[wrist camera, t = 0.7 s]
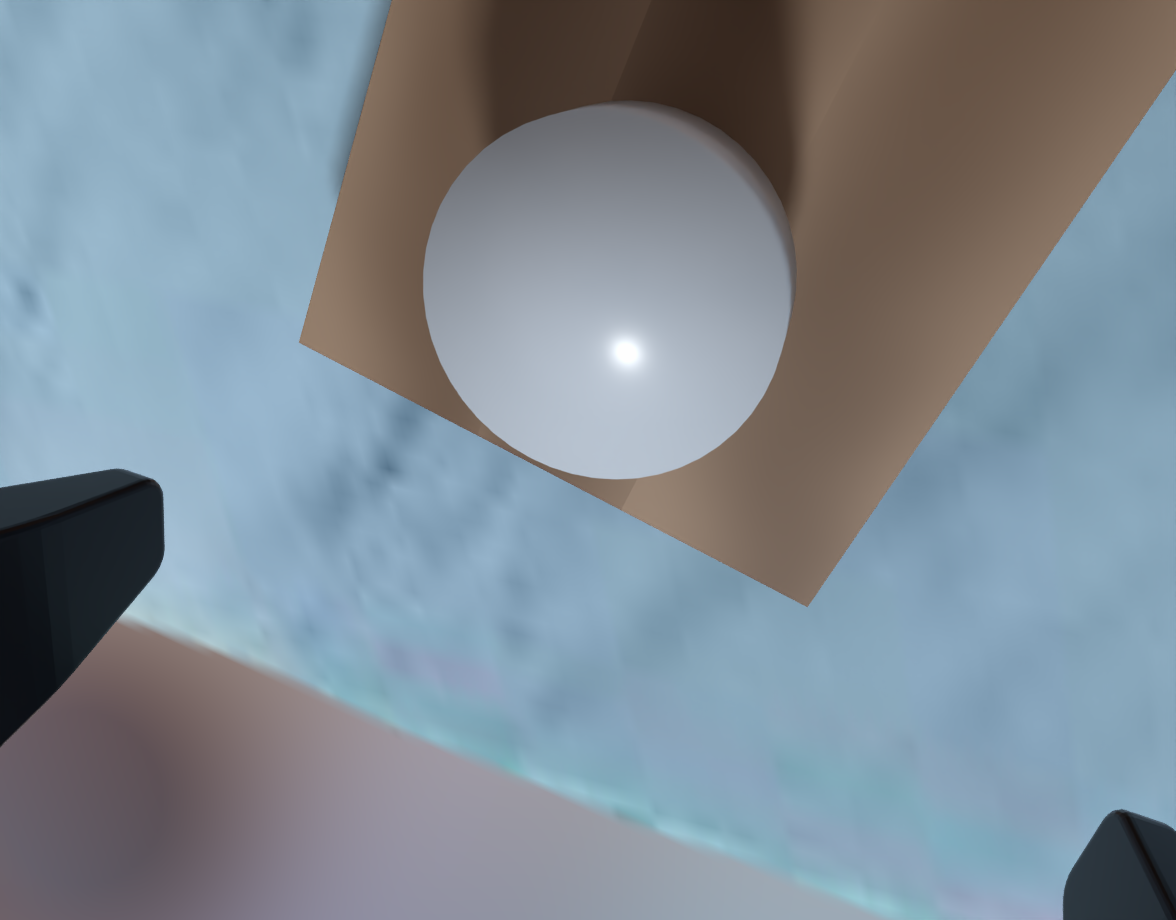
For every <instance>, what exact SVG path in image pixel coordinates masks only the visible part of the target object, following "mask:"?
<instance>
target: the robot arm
mask: <svg viewBox="0 0 1176 920" xmlns="http://www.w3.org/2000/svg"><path fill="white" fill-rule="evenodd" d="M164 549H165V544H164V507H163V491H162V489H161V487H160V485H159V484H158V483H157V482H156V481H155V480H153V479H151V478H148V477H145V476H142V475H140V474H137V473H134V472H131V471H128V470H124V469H110V470H104V471H98V472H92V473H86V474H80V475H74V476H68V477H62V478H56V479H50V480H44V481H38V482H32V483H26V484H20V485H14V486H8V487H2V488H0V747H1V746H2V745H3V744H4V743H5V742H6V741H7V740H8V739H9V738H10V737H11V736H12V735H13V734H14V733H15V732H16V731H17V730H18V729H20V728H21V727H22V726H23V725H24V724H25V723H26V722H27V721H28V720H29V719H30V718H31V717H32V716H33V715H34V714H35V713H36V712H37V711H38V710H39V709H40V708H41V707H42V706H43V705H44V704H45V703H46V701H48V700H49V698H51V696H52V695H53V694H54V693H55V692H56V691H57V690H58V689H59V688H60V687H61V686H62V684H63V683H64V682H65V681H66V680H67V679H68V678H69V677H70V676H71V674H72V673H73V672H74V671H75V670H76V669H77V668H78V666H79V665H80V664H81V663H82V661H83V660H84V659H85V658H86V657H87V656H88V654H89V653H90V652H91V651H92V650H93V648H94V647H95V646H96V645H97V643H98V642H99V641H100V640H101V639H102V638H103V636H104V635H105V634H106V633H107V632H108V631H109V629H110V628H111V627H112V626H113V625H114V623H115V622H116V621H117V620H118V619H119V617H120V616H121V615H122V614H123V613H124V611H125V610H126V609H127V608H128V607H129V605H130V604H131V603H132V602H133V601H134V599H135V598H136V597H137V596H138V595H139V593H140V592H141V591H142V590H143V589H144V588H145V586H146V585H147V584H148V583H149V582H150V580H151V579H152V578H153V577H154V575H155V574H156V572H157V571H158V569H159V567H160V565H161V562H162V560H163V556H164ZM1063 920H1176V831H1175V830H1174V829H1173V828H1171V827H1170V826H1168V825H1167V824H1165V823H1162V822H1159V821H1156V820H1153V819H1150V818H1148V817H1145V816H1142V815H1139V814H1136V813H1133V812H1130V811H1127V810H1123V809H1121V810H1115V811H1112V812H1111V813H1109V814H1108V815H1107V816H1106V817H1105V818H1104V820H1103V821H1102V823H1101V824H1100V826H1099V827H1098V829H1097V830H1096V832H1095V834H1094V835H1093V837H1092V838H1091V840H1090V841H1089V843H1088V845H1087V846H1086V848H1085V849H1084V851H1083V852H1082V854H1081V856H1080V857H1079V859H1078V860H1077V862H1076V863H1075V865H1074V867H1073V868H1072V870H1071V872H1070V874H1069V876H1068V879H1067V881H1066V885H1065V889H1064V896H1063Z"/></svg>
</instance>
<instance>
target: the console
mask: <svg viewBox="0 0 1176 920" xmlns="http://www.w3.org/2000/svg"><path fill="white" fill-rule="evenodd" d="M1175 70H1176V0H392V2H391V6H390V9H389V13H388V17H387V20H386V24H385V28H384V31H383V35H382V39H381V42H380V46H379V50H378V53H377V57H376V61H375V64H374V68H373V72H372V75H371V79H370V83H369V87H368V90H367V94H366V98H365V101H364V105H363V109H362V112H361V116H360V120H359V123H358V127H357V131H356V134H355V138H354V142H353V145H352V149H351V153H350V156H349V160H348V164H347V168H346V171H345V175H344V179H343V182H342V186H341V190H340V193H339V197H338V201H337V204H336V208H335V212H334V215H333V219H332V223H331V226H330V230H329V234H328V237H327V241H326V245H325V249H324V252H323V256H322V260H321V263H320V267H319V271H318V274H317V278H316V282H315V285H314V289H313V293H312V296H311V300H310V304H309V307H308V311H307V315H306V318H305V322H304V326H303V330H302V333H301V337H300V341H299V343H301V344H303V345H305V346H307V347H309V348H310V349H312V350H314V351H316V352H318V353H320V354H322V355H324V356H326V357H328V358H330V359H332V360H334V361H335V362H337V363H339V364H341V365H343V366H345V367H347V368H349V369H351V370H353V371H355V372H357V373H359V374H360V375H362V376H364V377H366V378H368V379H370V380H372V381H374V382H376V383H378V384H380V385H382V386H384V387H385V388H387V389H389V390H391V391H393V392H395V393H397V394H399V395H401V396H403V397H405V398H407V399H408V400H410V401H412V402H414V403H416V404H418V405H420V406H422V407H424V408H426V409H428V410H430V411H432V412H433V413H435V414H437V415H439V416H441V417H443V418H445V419H447V420H449V421H451V422H453V423H455V424H457V425H458V426H460V427H462V428H464V429H466V430H468V431H470V432H472V433H474V434H476V435H478V436H480V437H482V438H483V439H485V440H487V441H489V442H491V443H493V444H495V445H497V446H499V447H501V448H503V449H505V450H507V451H508V452H510V453H512V454H514V455H516V456H518V457H520V458H522V459H524V460H526V461H528V462H530V463H531V464H533V465H535V466H537V467H539V468H541V469H543V470H545V471H547V472H549V473H551V474H553V475H555V476H556V477H558V478H560V479H562V480H564V481H566V482H568V483H570V484H572V485H574V486H576V487H578V488H580V489H581V490H583V491H585V492H587V493H589V494H591V495H593V496H595V497H597V498H599V499H601V500H603V501H605V502H606V503H608V504H610V505H612V506H614V507H616V508H618V509H620V510H622V511H624V512H626V513H628V514H630V515H631V516H633V517H635V518H637V519H639V520H641V521H643V522H645V523H647V524H649V525H651V526H653V527H654V528H656V529H658V530H660V531H662V532H664V533H666V534H668V535H670V536H672V537H674V538H676V539H678V540H679V541H681V542H683V543H685V544H687V545H689V546H691V547H693V548H695V549H697V550H699V551H701V552H703V553H704V554H706V555H708V556H710V557H712V558H714V559H716V560H718V561H720V562H722V563H724V564H726V565H728V566H729V567H731V568H733V569H735V570H737V571H739V572H741V573H743V574H745V575H747V576H749V577H751V578H753V579H754V580H756V581H758V582H760V583H762V584H764V585H766V586H768V587H770V588H772V589H774V590H776V591H777V592H779V593H781V594H783V595H785V596H787V597H789V598H791V599H793V600H795V601H797V602H799V603H801V604H802V605H804V606H806V607H808V606H809V604H810V603H811V601H812V600H813V598H814V597H815V595H816V594H817V592H818V591H819V589H820V588H821V587H822V585H823V584H824V582H825V581H826V579H827V578H828V576H829V575H830V573H831V572H832V571H833V569H834V568H835V566H836V565H837V563H838V562H839V560H840V559H841V557H842V556H843V554H844V553H845V552H846V550H847V549H848V547H849V546H850V544H851V543H852V541H853V540H854V538H855V537H856V536H857V534H858V533H859V531H860V530H861V528H862V527H863V525H864V524H865V522H866V521H867V519H868V518H869V517H870V515H871V514H872V512H873V511H874V509H875V508H876V506H877V505H878V503H879V502H880V501H881V499H882V498H883V496H884V495H885V493H886V492H887V490H888V489H889V487H890V486H891V484H892V483H893V482H894V480H895V479H896V477H897V476H898V474H899V473H900V471H901V470H902V468H903V467H904V466H905V464H906V463H907V461H908V460H909V458H910V457H911V455H912V454H913V452H914V451H915V449H916V448H917V447H918V445H919V444H920V442H921V441H922V439H923V438H924V436H925V435H926V433H927V432H928V431H929V429H930V428H931V426H932V425H933V423H934V422H935V420H936V419H937V417H938V416H939V415H940V413H941V412H942V410H943V409H944V407H945V406H946V404H947V403H948V401H949V400H950V398H951V397H952V396H953V394H954V393H955V391H956V390H957V388H958V387H959V385H960V384H961V382H962V381H963V380H964V378H965V377H966V375H967V374H968V372H969V371H970V369H971V368H972V366H973V365H974V363H975V362H976V361H977V359H978V358H979V356H980V355H981V353H982V352H983V350H984V349H985V347H986V346H987V345H988V343H989V342H990V340H991V339H992V337H993V336H994V334H995V333H996V331H997V330H998V328H999V327H1000V326H1001V324H1002V323H1003V321H1004V320H1005V318H1006V317H1007V315H1008V314H1009V312H1010V311H1011V310H1012V308H1013V307H1014V305H1015V304H1016V302H1017V301H1018V299H1019V298H1020V296H1021V295H1022V293H1023V292H1024V291H1025V289H1026V288H1027V286H1028V285H1029V283H1030V282H1031V280H1032V279H1033V277H1034V276H1035V275H1036V273H1037V272H1038V270H1039V269H1040V267H1041V266H1042V264H1043V263H1044V261H1045V260H1046V259H1047V257H1048V256H1049V254H1050V253H1051V251H1052V250H1053V248H1054V247H1055V245H1056V244H1057V242H1058V241H1059V240H1060V238H1061V237H1062V235H1063V234H1064V232H1065V231H1066V229H1067V228H1068V226H1069V225H1070V224H1071V222H1072V221H1073V219H1074V218H1075V216H1076V215H1077V213H1078V212H1079V210H1080V209H1081V207H1082V206H1083V205H1084V203H1085V202H1086V200H1087V199H1088V197H1089V196H1090V194H1091V193H1092V191H1093V190H1094V189H1095V187H1096V186H1097V184H1098V183H1099V181H1100V180H1101V178H1102V177H1103V175H1104V174H1105V172H1106V171H1107V170H1108V168H1109V167H1110V165H1111V164H1112V162H1113V161H1114V159H1115V158H1116V156H1117V155H1118V154H1119V152H1120V151H1121V149H1122V148H1123V146H1124V145H1125V143H1126V142H1127V140H1128V139H1129V137H1130V136H1131V135H1132V133H1133V132H1134V130H1135V129H1136V127H1137V126H1138V124H1139V123H1140V121H1141V120H1142V119H1143V117H1144V116H1145V114H1146V113H1147V111H1148V110H1149V108H1150V107H1151V105H1152V104H1153V102H1154V101H1155V100H1156V98H1157V97H1158V95H1159V94H1160V92H1161V91H1162V89H1163V88H1164V86H1165V85H1166V84H1167V82H1168V81H1169V79H1170V78H1171V76H1172V75H1173V73H1174V72H1175ZM629 100H633V101H643V102H653V103H658V104H662V105H666V106H670V107H674V108H678V109H680V110H683V111H685V112H688V113H690V114H693V115H695V116H697V117H700V118H701V119H703V120H705V121H707V122H708V123H710V124H712V125H714V126H715V127H717V128H719V129H720V130H722V131H723V132H724V133H725V134H727V135H728V136H729V137H731V138H732V139H733V140H734V141H736V142H737V143H738V144H739V145H740V146H741V147H742V148H743V149H744V150H745V151H746V152H747V153H748V154H749V155H750V156H751V157H752V158H753V159H754V160H755V161H756V163H757V164H758V165H759V167H760V168H761V169H762V171H763V172H764V173H765V175H766V176H767V178H768V179H769V180H770V182H771V184H772V186H773V188H774V189H775V191H776V193H777V195H778V197H779V199H780V200H781V203H782V205H783V208H784V210H785V213H786V216H787V218H788V221H789V224H790V228H791V232H792V236H793V241H794V245H795V254H796V264H797V280H796V295H795V300H794V306H793V312H792V316H791V320H790V323H789V327H788V330H787V334H786V337H785V341H784V345H783V348H782V352H781V355H780V358H779V361H778V364H777V367H776V370H775V373H774V376H773V378H772V380H771V382H770V384H769V386H768V388H767V390H766V392H765V394H764V396H763V397H762V399H761V400H760V402H759V403H758V405H757V406H756V408H755V409H754V411H753V412H752V414H751V415H750V416H749V417H748V419H747V420H746V421H745V422H744V423H743V424H742V425H741V426H740V428H739V429H738V430H737V431H736V432H735V433H734V434H733V435H731V436H730V437H729V438H728V439H727V440H726V441H724V442H723V443H722V444H721V445H720V446H718V447H717V448H715V449H714V450H712V451H711V452H709V453H708V454H706V455H704V456H703V457H701V458H700V459H698V460H695V461H693V462H691V463H689V464H687V465H685V466H683V467H680V468H678V469H674V470H671V471H668V472H665V473H662V474H658V475H653V476H647V477H642V478H634V479H601V478H591V477H586V476H581V475H575V474H571V473H568V472H565V471H561V470H558V469H555V468H552V467H549V466H547V465H545V464H543V463H541V462H538V461H536V460H534V459H532V458H530V457H528V456H526V455H525V454H523V453H521V452H520V451H518V450H516V449H515V448H513V447H511V446H510V445H509V444H507V443H506V442H505V441H503V440H502V439H501V438H499V437H498V436H497V435H495V434H494V433H493V432H492V431H491V430H490V429H489V428H488V427H487V426H486V425H485V424H483V423H482V422H481V421H480V420H479V419H478V418H477V417H476V416H475V414H474V413H473V412H472V411H471V410H470V408H469V407H468V406H467V405H466V404H465V402H464V401H463V400H462V398H461V397H460V395H459V394H458V392H457V391H456V389H455V388H454V386H453V385H452V383H451V382H450V380H449V378H448V376H447V374H446V372H445V370H444V368H443V367H442V365H441V363H440V361H439V358H438V355H437V353H436V350H435V347H434V345H433V342H432V339H431V335H430V331H429V327H428V323H427V319H426V312H425V304H424V296H423V269H424V261H425V253H426V247H427V243H428V239H429V235H430V231H431V227H432V224H433V222H434V219H435V217H436V215H437V212H438V210H439V207H440V205H441V203H442V201H443V199H444V198H445V196H446V194H447V192H448V191H449V189H450V187H451V185H452V184H453V183H454V181H455V180H456V179H457V177H458V176H459V175H460V174H461V172H462V171H463V170H464V168H465V167H466V166H467V165H468V164H469V163H470V162H471V161H472V160H473V159H474V158H475V157H476V156H477V155H478V154H479V153H480V152H481V151H482V150H483V149H484V148H486V147H487V146H489V145H490V144H491V143H493V142H494V141H496V140H497V139H498V138H500V137H501V136H503V135H504V134H506V133H508V132H510V131H512V130H514V129H516V128H518V127H520V126H522V125H524V124H526V123H529V122H531V121H534V120H537V119H540V118H543V117H546V116H549V115H553V114H557V113H560V112H564V111H568V110H572V109H575V108H579V107H583V106H587V105H592V104H597V103H603V102H608V101H629Z"/></svg>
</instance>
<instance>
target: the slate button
mask: <svg viewBox="0 0 1176 920" xmlns="http://www.w3.org/2000/svg"><path fill="white" fill-rule="evenodd" d="M796 280H797V264H796V254H795V245H794V241H793V236H792V232H791V228H790V224H789V221H788V218H787V216H786V213H785V210H784V208H783V205H782V203H781V200H780V199H779V197H778V195H777V193H776V191H775V189H774V188H773V186H772V184H771V182H770V180H769V179H768V178H767V176H766V175H765V173H764V172H763V171H762V169H761V168H760V167H759V165H758V164H757V163H756V161H755V160H754V159H753V158H752V157H751V156H750V155H749V154H748V153H747V152H746V151H745V150H744V149H743V148H742V147H741V146H740V145H739V144H738V143H737V142H736V141H734V140H733V139H732V138H731V137H729V136H728V135H727V134H725V133H724V132H723V131H722V130H720V129H719V128H717V127H715V126H714V125H712V124H710V123H708V122H707V121H705V120H703V119H701V118H700V117H697V116H695V115H693V114H690V113H688V112H685V111H683V110H680V109H678V108H674V107H670V106H666V105H662V104H658V103H653V102H643V101H633V100H629V101H608V102H603V103H597V104H592V105H587V106H583V107H579V108H575V109H572V110H568V111H564V112H560V113H557V114H553V115H549V116H546V117H543V118H540V119H537V120H534V121H531V122H529V123H526V124H524V125H522V126H520V127H518V128H516V129H514V130H512V131H510V132H508V133H506V134H504V135H503V136H501V137H500V138H498V139H497V140H496V141H494V142H493V143H491V144H490V145H489V146H487V147H486V148H484V149H483V150H482V151H481V152H480V153H479V154H478V155H477V156H476V157H475V158H474V159H473V160H472V161H471V162H470V163H469V164H468V165H467V166H466V167H465V168H464V170H463V171H462V172H461V174H460V175H459V176H458V177H457V179H456V180H455V181H454V183H453V184H452V185H451V187H450V189H449V191H448V192H447V194H446V196H445V198H444V199H443V201H442V203H441V205H440V207H439V210H438V212H437V215H436V217H435V219H434V222H433V224H432V227H431V231H430V235H429V239H428V243H427V247H426V253H425V261H424V269H423V296H424V304H425V312H426V319H427V323H428V327H429V331H430V335H431V339H432V342H433V345H434V347H435V350H436V353H437V355H438V358H439V361H440V363H441V365H442V367H443V368H444V370H445V372H446V374H447V376H448V378H449V380H450V382H451V383H452V385H453V386H454V388H455V389H456V391H457V392H458V394H459V395H460V397H461V398H462V400H463V401H464V402H465V404H466V405H467V406H468V407H469V408H470V410H471V411H472V412H473V413H474V414H475V416H476V417H477V418H478V419H479V420H480V421H481V422H482V423H483V424H485V425H486V426H487V427H488V428H489V429H490V430H491V431H492V432H493V433H494V434H495V435H497V436H498V437H499V438H501V439H502V440H503V441H505V442H506V443H507V444H509V445H510V446H511V447H513V448H515V449H516V450H518V451H520V452H521V453H523V454H525V455H526V456H528V457H530V458H532V459H534V460H536V461H538V462H541V463H543V464H545V465H547V466H549V467H552V468H555V469H558V470H561V471H565V472H568V473H571V474H575V475H581V476H586V477H591V478H601V479H634V478H642V477H647V476H653V475H658V474H662V473H665V472H668V471H671V470H674V469H678V468H680V467H683V466H685V465H687V464H689V463H691V462H693V461H695V460H698V459H700V458H701V457H703V456H704V455H706V454H708V453H709V452H711V451H712V450H714V449H715V448H717V447H718V446H720V445H721V444H722V443H723V442H724V441H726V440H727V439H728V438H729V437H730V436H731V435H733V434H734V433H735V432H736V431H737V430H738V429H739V428H740V426H741V425H742V424H743V423H744V422H745V421H746V420H747V419H748V417H749V416H750V415H751V414H752V412H753V411H754V409H755V408H756V406H757V405H758V403H759V402H760V400H761V399H762V397H763V396H764V394H765V392H766V390H767V388H768V386H769V384H770V382H771V380H772V378H773V376H774V373H775V370H776V367H777V364H778V361H779V358H780V355H781V352H782V348H783V345H784V341H785V337H786V334H787V330H788V327H789V323H790V320H791V316H792V312H793V306H794V300H795V295H796Z"/></svg>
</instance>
